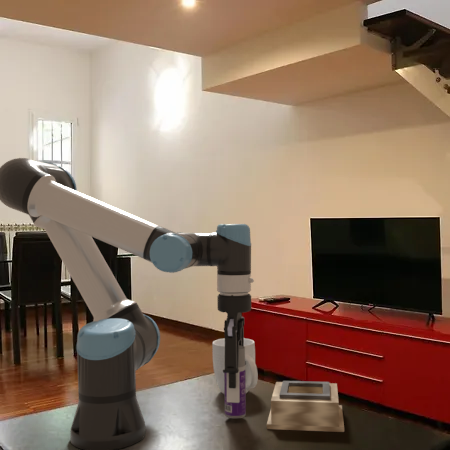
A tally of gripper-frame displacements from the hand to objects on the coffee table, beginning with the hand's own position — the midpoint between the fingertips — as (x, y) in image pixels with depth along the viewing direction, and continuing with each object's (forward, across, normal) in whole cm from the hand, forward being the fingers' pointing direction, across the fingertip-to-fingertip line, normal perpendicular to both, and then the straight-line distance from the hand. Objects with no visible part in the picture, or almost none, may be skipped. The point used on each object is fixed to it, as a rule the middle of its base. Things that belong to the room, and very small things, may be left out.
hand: (235, 397), depth 123 cm
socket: (+5, +2, -16) cm, 16 cm away
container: (+4, 0, 0) cm, 4 cm away
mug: (+5, +19, +2) cm, 20 cm away
